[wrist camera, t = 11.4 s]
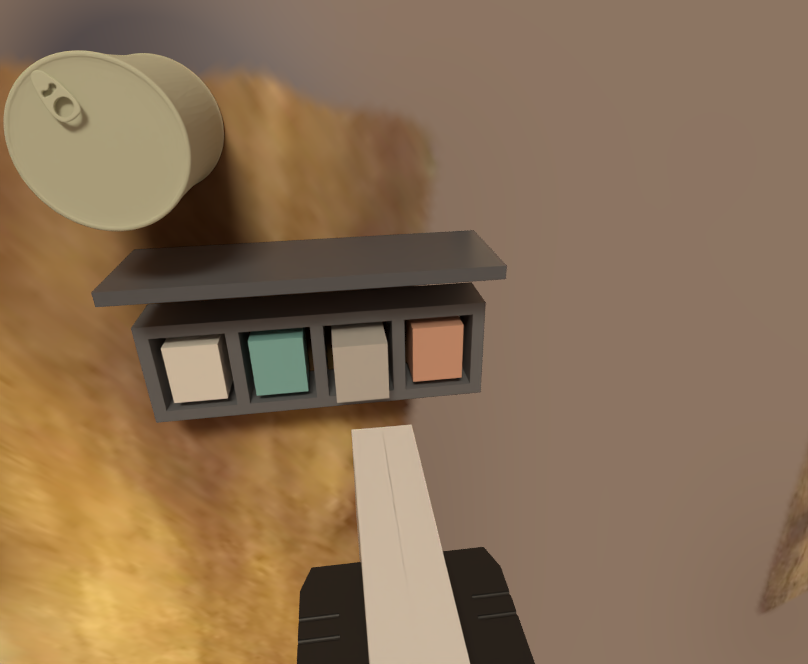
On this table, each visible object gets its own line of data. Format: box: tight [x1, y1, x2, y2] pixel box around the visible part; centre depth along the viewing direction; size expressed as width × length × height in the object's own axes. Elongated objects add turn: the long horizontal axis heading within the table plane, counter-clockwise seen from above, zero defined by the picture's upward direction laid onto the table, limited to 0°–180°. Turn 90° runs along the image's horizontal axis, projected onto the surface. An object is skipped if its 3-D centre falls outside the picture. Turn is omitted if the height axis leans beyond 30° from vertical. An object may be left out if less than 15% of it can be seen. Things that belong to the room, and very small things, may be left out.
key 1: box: [161, 333, 233, 403], centre depth 44 cm, size 4×5×4 cm
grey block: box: [331, 321, 389, 403], centre depth 44 cm, size 4×5×4 cm
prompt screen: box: [91, 230, 507, 307], centre depth 40 cm, size 27×1×9 cm, turn 91°
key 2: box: [248, 327, 309, 396], centre depth 45 cm, size 4×5×4 cm
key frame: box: [131, 283, 486, 423], centre depth 46 cm, size 27×9×4 cm, turn 91°
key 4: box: [406, 316, 464, 382], centre depth 47 cm, size 4×5×4 cm
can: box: [4, 51, 224, 231], centre depth 33 cm, size 9×9×12 cm
